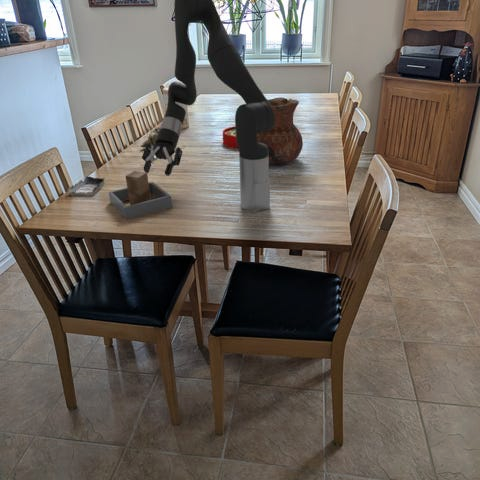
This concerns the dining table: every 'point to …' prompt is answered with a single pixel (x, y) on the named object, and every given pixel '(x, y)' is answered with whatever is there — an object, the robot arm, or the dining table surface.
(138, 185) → the walnut block
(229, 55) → the robot arm
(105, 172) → the dining table surface
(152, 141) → the ceramic sculpture
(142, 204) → the box
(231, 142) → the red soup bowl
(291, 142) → the jug
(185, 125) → the coffeecake box
